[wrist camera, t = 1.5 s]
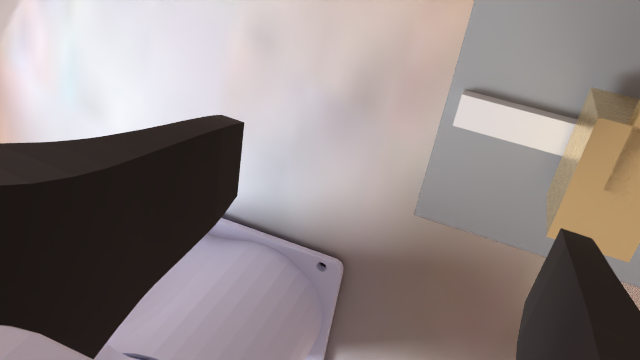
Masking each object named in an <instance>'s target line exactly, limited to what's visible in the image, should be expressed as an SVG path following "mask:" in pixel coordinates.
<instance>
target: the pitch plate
mask: <svg viewBox="0 0 640 360" xmlns="http://www.w3.org/2000/svg"><path fill="white" fill-rule="evenodd" d="M591 87H592V88H596V89H601V90H605V91H609V92H613V93H617V94H621V95H625V96H629V97H633V98H637V99H640V0H475V1H474V5H473V8H472V12H471V15H470V19H469V22H468V26H467V29H466V33H465V36H464V40H463V44H462V47H461V51H460V54H459V58H458V61H457V65H456V68H455V72H454V75H453V79H452V82H451V86H450V89H449V93H448V97H447V100H446V104H445V107H444V111H443V114H442V118H441V121H440V125H439V128H438V132H437V135H436V139H435V142H434V146H433V149H432V153H431V157H430V160H429V164H428V167H427V171H426V174H425V178H424V181H423V185H422V188H421V192H420V195H419V199H418V202H417V206H416V209H415V213H414V215H416V216H419V217H422V218H425V219H429V220H432V221H435V222H438V223H441V224H444V225H447V226H450V227H453V228H456V229H460V230H463V231H466V232H469V233H472V234H475V235H478V236H481V237H484V238H487V239H491V240H494V241H497V242H500V243H503V244H506V245H509V246H512V247H515V248H518V249H521V250H525V251H528V252H531V253H534V254H537V255H540V256H543V257H546V258H547V256H548V254H549V251H550V249H551V247H552V245H553V243H554V241H555V239H552V238H549V237H546V225H547V192H548V190H549V187H550V185H551V182H552V180H553V178H554V175H555V173H556V170H557V168H558V166H559V163H560V161H561V158H562V156H563V154H564V151H565V149H566V146H567V144H568V141H569V139H570V137H571V134H572V132H573V129H574V127H575V125H576V122H577V120H578V117H579V115H580V112H581V110H582V108H583V105H584V103H585V100H586V98H587V96H588V93H589V91H590V88H591ZM604 257H605V259H606V260H607V262H608V263H609V265H610V267H611V268H612V270H613V271H614V273H615V274H616V276H617V278H618V279H619V281H621V282H624V283H627V284H630V285H633V286H636V287H639V288H640V243H639V245H638V247H637V249H636V251H635V253H634V254H633V256H632V258H631V260H630V262H629V263H628V262H625V261H622V260H619V259H616V258H613V257H609V256H606V255H604Z"/></svg>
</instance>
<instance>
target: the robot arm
mask: <svg viewBox="0 0 640 360" xmlns="http://www.w3.org/2000/svg"><path fill="white" fill-rule="evenodd" d="M243 130H244V122H241V121H238V120H235V119H232V118H229V117H226V116H223V115H214V116H207V117H201V118H195V119H190V120H185V121H181V122H176V123H171V124H167V125H162V126H157V127H152V128H148V129H143V130H137V131H131V132H126V133H120V134H114V135H108V136H103V137H96V138H88V139H80V140H69V141H58V142H41V143H5V144H0V360H324V356H325V352H326V347H327V343H328V338H329V334H330V329H331V325H332V320H333V316H334V311H335V307H336V302H337V298H338V293H339V289H340V284H341V279H342V275H343V270H344V267H343V264H342V263H341V262H340V261H339V260H338V259H336V258H334V257H331V256H328V255H325V254H322V253H319V252H317V251H314V250H311V249H308V248H305V247H303V246H300V245H297V244H294V243H291V242H288V241H286V240H283V239H280V238H277V237H274V236H271V235H269V234H266V233H263V232H260V231H257V230H254V229H252V228H249V227H246V226H243V225H240V224H238V223H235V222H232V221H229V220H226V219H223V218H221V217H222V216H223V215H224V213H225V212H226V211H227V209H228V208H229V206H230V205H231V204H232V202H233V201H234V199H235V198H236V197H237V192H238V182H239V171H240V161H241V151H242V140H243ZM319 262H322V263H324V264H325V265H326V267H323V266H321V265H320V263H319ZM516 360H640V310H639V309H638V308H637V306H636V305H635V303H634V302H633V300H632V299H631V297H630V296H629V294H628V293H627V291H626V290H625V288H624V287H623V285H622V284H621V282H620V281H619V279H618V278H617V276H616V274H615V273H614V271H613V270H612V268H611V267H610V265H609V263H608V262H607V260H606V259H605V257H604V255H603V254H602V252H601V251H600V249H599V247H598V246H597V244H596V243H595V242H594V240H593V239H592V238H589V237H586V236H583V235H580V234H577V233H574V232H571V231H568V230H565V229H562V228H561V229H560V231H559V233H558V235H557V237H556V239H555V241H554V243H553V245H552V247H551V249H550V251H549V254H548V256H547V258H546V260H545V262H544V264H543V266H542V268H541V270H540V272H539V274H538V276H537V278H536V281H535V283H534V285H533V287H532V289H531V291H530V293H529V295H528V297H527V299H526V301H525V305H524V310H523V315H522V320H521V325H520V330H519V336H518V341H517V356H516Z"/></svg>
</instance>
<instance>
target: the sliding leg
mask: <svg viewBox="0 0 640 360" xmlns="http://www.w3.org/2000/svg"><path fill="white" fill-rule="evenodd" d="M561 228H562V229H565V230H568V231H571V232H574V233H577V234H580V235H583V236H586V237H589V238H592V239H593V240H594V242H595V243H596V244H597V246H598V247H599V249H600V251H601V252H602V254H603V255H606V256H609V257H613V258H616V259H619V260H622V261H625V262H628V263H629V262H630V260H631V258H632V256H633V254H634V253H635V251H636V249H637V247H638V245H639V243H640V99H637V98H633V97H629V96H625V95H621V94H617V93H613V92H609V91H605V90H601V89H596V88H592V87H591V88H590V91H589V93H588V96H587V98H586V100H585V103H584V105H583V108H582V110H581V112H580V115H579V117H578V120H577V122H576V125H575V127H574V129H573V132H572V134H571V137H570V139H569V141H568V144H567V146H566V149H565V151H564V154H563V156H562V158H561V161H560V163H559V166H558V168H557V170H556V173H555V175H554V178H553V180H552V182H551V185H550V187H549V190H548V192H547V225H546V237H549V238H552V239H556V237H557V235H558V233H559V231H560V229H561Z"/></svg>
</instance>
